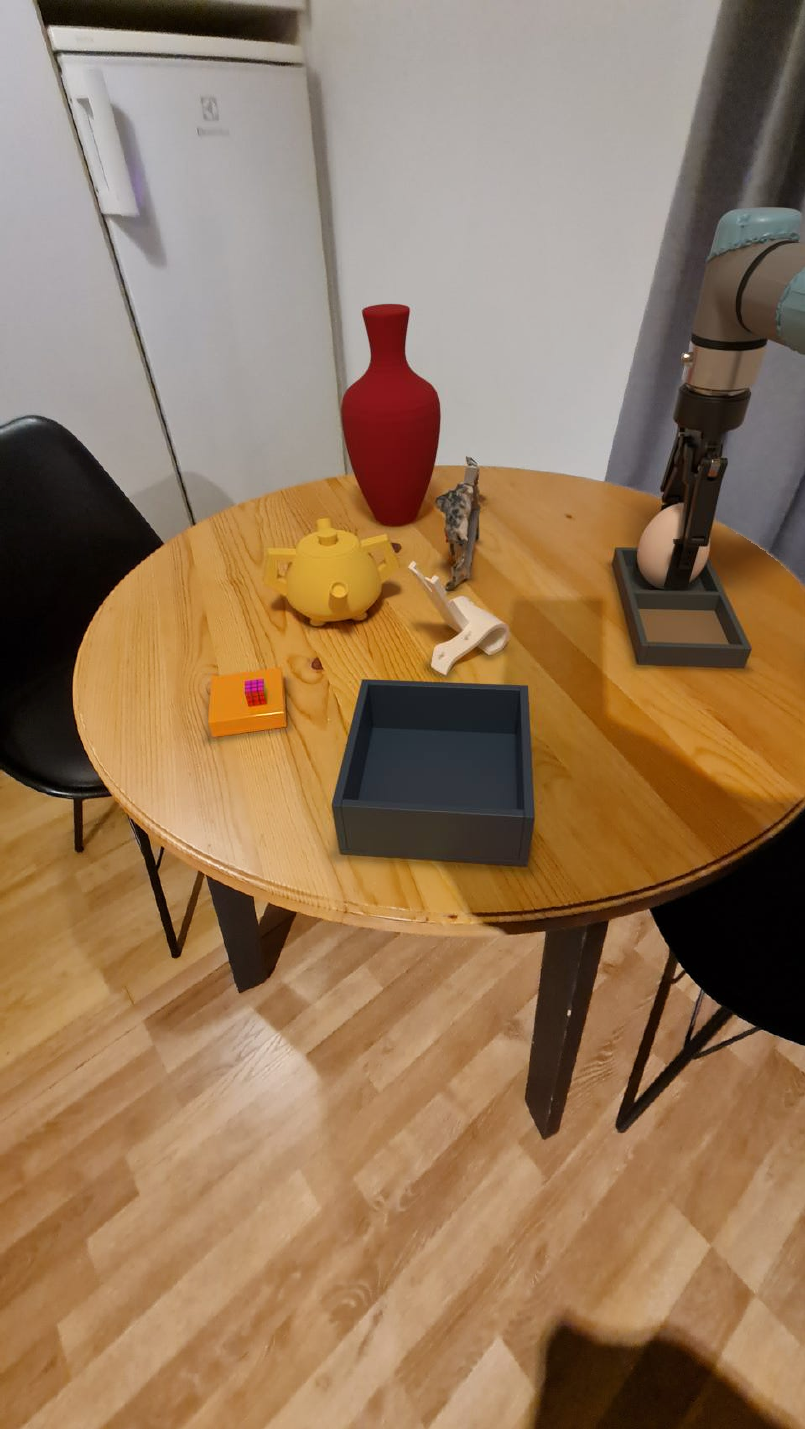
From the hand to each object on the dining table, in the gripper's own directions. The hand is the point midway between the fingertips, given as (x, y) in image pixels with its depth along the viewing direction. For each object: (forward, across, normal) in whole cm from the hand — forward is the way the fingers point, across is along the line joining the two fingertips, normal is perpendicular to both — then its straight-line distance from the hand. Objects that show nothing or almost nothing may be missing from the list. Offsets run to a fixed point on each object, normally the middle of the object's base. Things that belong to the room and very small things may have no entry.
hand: (668, 568), depth 87 cm
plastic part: (+3, +15, -27) cm, 31 cm away
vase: (+3, -20, -39) cm, 44 cm away
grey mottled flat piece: (+3, -5, -28) cm, 29 cm away
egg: (+3, 0, 0) cm, 3 cm away
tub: (+3, +38, -28) cm, 48 cm away
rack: (+3, +6, 0) cm, 6 cm away
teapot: (+3, +7, -44) cm, 45 cm away
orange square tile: (+3, +28, -50) cm, 57 cm away
